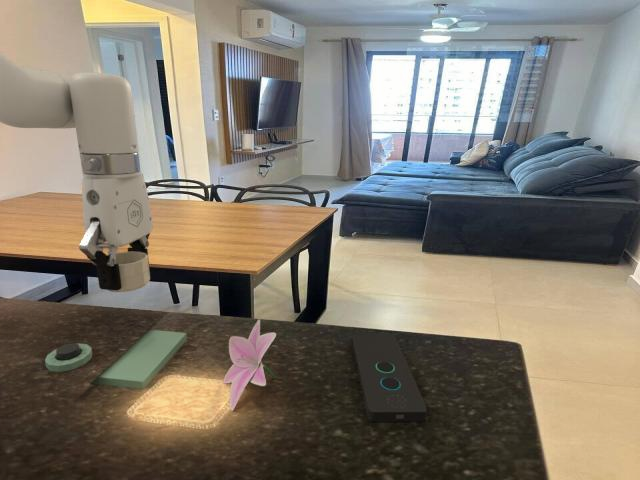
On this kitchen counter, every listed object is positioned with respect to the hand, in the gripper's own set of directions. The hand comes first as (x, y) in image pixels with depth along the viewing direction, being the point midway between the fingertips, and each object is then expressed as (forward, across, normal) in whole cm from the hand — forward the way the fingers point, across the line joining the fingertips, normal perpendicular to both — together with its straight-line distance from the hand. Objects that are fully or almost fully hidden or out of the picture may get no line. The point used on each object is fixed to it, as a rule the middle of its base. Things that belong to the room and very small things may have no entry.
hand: (126, 278), depth 60 cm
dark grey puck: (+11, -6, +7) cm, 14 cm away
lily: (+14, -5, -21) cm, 26 cm away
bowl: (+1, 0, 0) cm, 1 cm away
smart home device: (+14, +1, -41) cm, 44 cm away
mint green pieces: (+14, -1, +2) cm, 14 cm away
